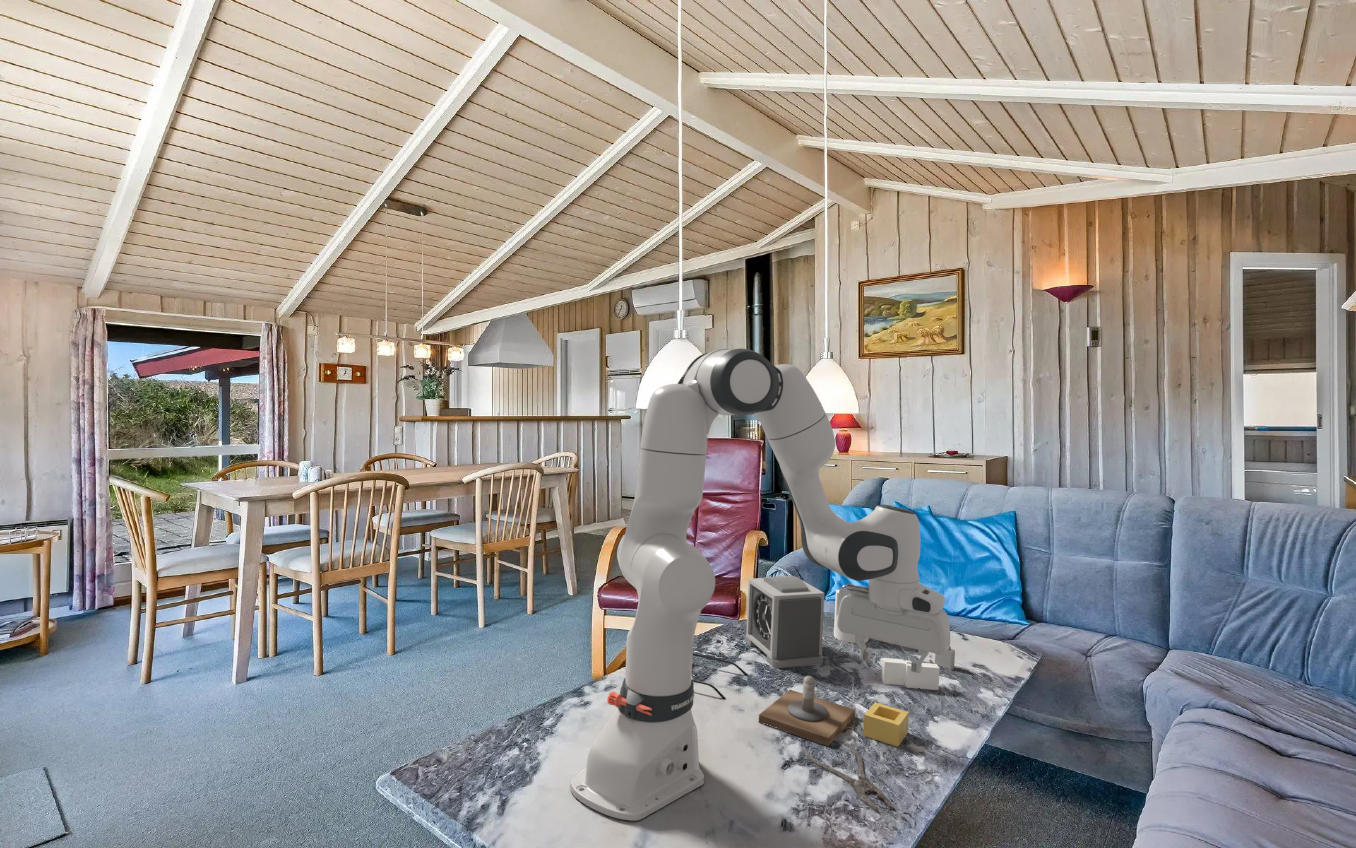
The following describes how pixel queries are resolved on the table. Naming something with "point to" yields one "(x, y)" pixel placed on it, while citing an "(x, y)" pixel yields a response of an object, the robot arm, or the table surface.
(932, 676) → the white stepped block
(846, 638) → the base with upright slab
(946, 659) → the lighter
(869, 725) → the block with square hole
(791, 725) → the post stand
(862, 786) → the pliers
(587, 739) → the table surface
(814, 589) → the alarm clock
